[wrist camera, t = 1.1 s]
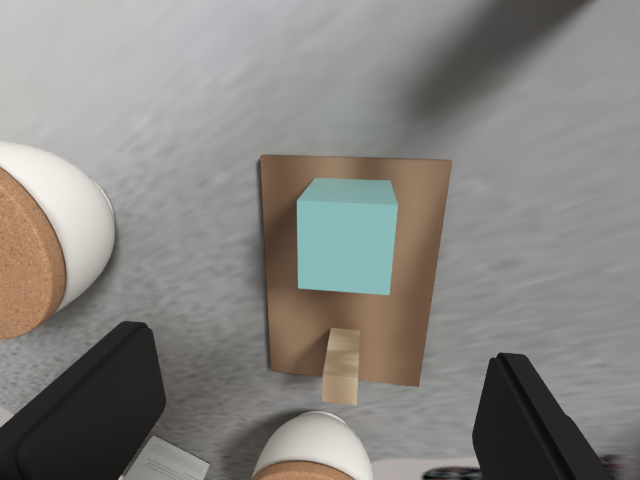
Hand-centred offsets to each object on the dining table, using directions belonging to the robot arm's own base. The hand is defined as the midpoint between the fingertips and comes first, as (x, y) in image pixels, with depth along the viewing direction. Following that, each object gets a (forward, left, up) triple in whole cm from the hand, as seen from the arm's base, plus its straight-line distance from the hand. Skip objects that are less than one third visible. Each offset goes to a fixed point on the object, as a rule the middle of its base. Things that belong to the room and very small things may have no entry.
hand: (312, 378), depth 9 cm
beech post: (0, +11, -17) cm, 20 cm away
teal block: (0, 0, -16) cm, 16 cm away
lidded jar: (+2, +23, -17) cm, 29 cm away
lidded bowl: (+23, +1, -17) cm, 29 cm away
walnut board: (0, +6, -17) cm, 18 cm away
